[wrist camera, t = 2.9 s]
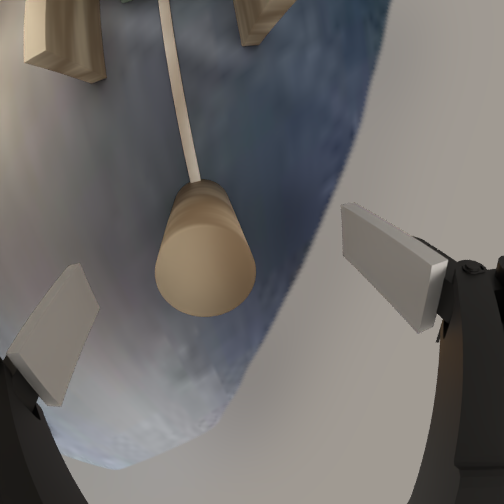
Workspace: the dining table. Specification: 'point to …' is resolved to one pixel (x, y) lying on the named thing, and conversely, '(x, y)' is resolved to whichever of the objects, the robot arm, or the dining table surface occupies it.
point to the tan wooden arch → (90, 37)
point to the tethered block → (199, 226)
